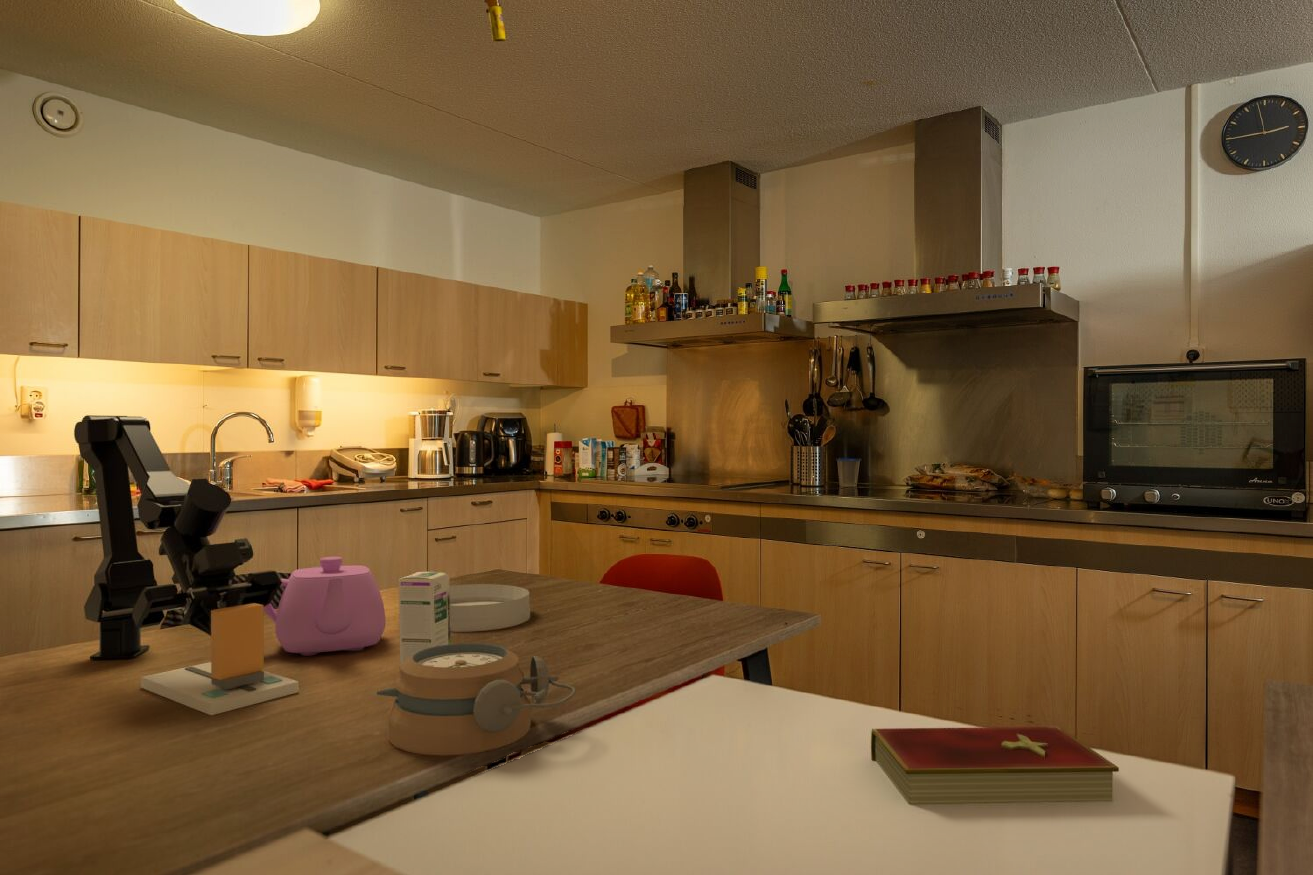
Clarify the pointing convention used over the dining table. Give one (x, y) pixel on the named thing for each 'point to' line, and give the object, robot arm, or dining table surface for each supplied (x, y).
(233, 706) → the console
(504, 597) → the dish
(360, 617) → the teapot
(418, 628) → the syrup box
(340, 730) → the dining table surface
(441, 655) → the alarm clock
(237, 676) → the fader
